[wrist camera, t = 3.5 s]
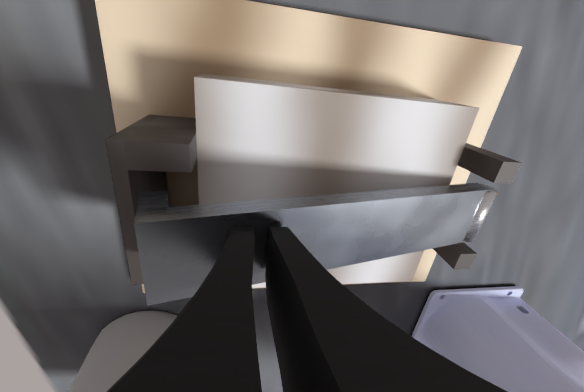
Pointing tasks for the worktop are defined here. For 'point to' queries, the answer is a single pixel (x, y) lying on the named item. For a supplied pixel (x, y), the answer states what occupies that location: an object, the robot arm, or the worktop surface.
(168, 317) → the cup
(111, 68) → the board
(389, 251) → the retention strap
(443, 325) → the robot arm
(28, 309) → the worktop surface
